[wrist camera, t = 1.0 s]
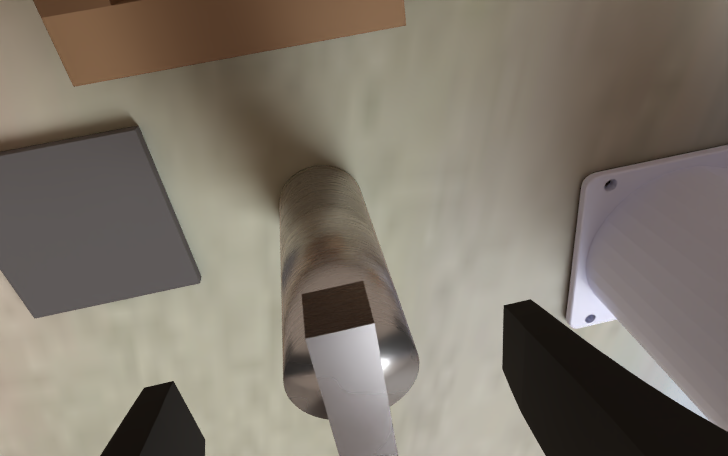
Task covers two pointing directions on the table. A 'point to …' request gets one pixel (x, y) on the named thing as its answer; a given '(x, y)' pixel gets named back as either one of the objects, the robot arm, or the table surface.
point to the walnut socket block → (196, 30)
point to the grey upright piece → (341, 314)
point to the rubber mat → (88, 224)
